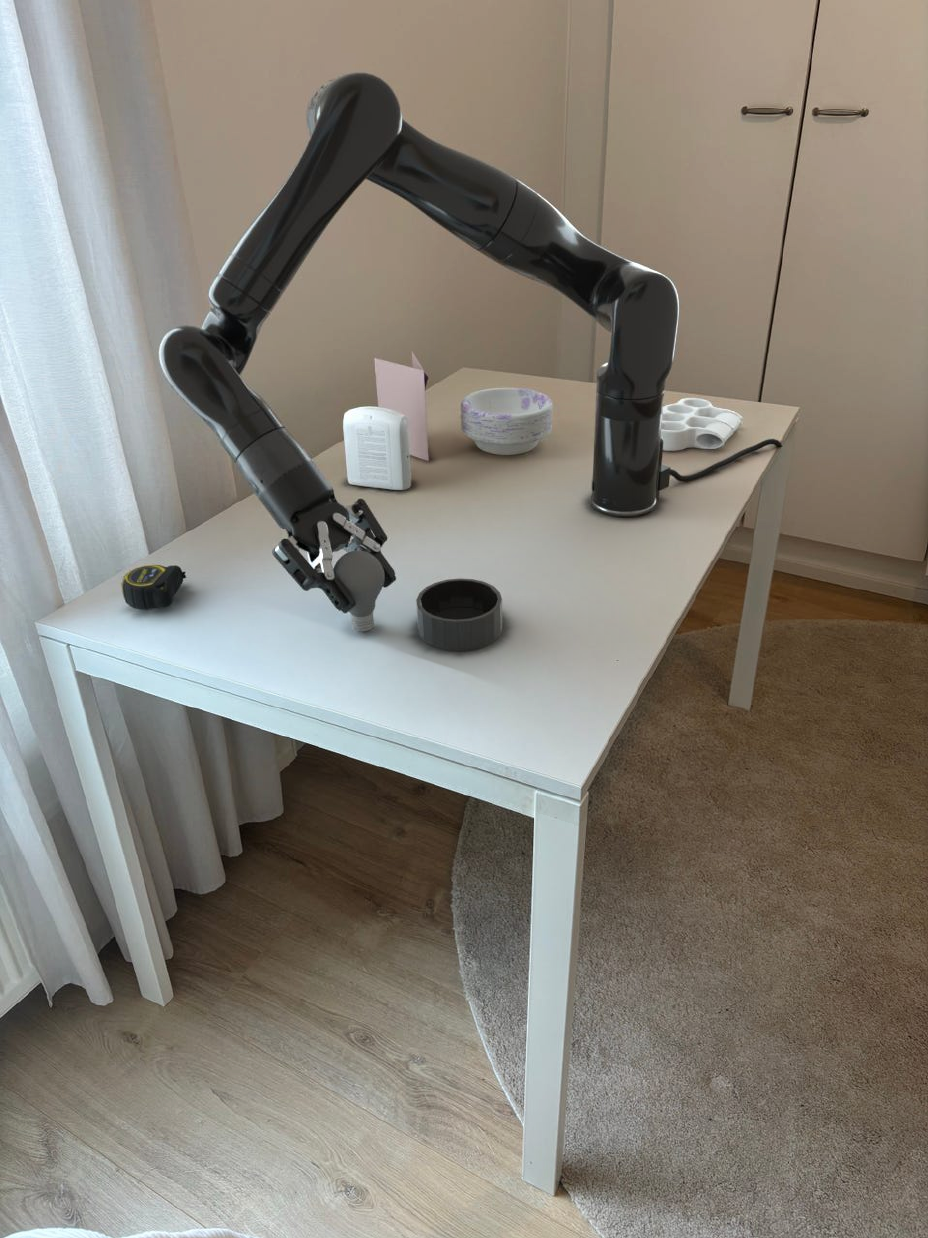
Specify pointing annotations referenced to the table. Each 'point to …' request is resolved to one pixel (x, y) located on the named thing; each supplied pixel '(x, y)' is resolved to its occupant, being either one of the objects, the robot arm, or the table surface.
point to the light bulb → (361, 585)
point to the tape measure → (151, 586)
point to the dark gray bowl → (459, 614)
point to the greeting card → (405, 399)
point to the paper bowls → (506, 419)
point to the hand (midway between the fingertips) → (371, 595)
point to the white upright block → (377, 448)
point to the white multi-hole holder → (697, 425)
